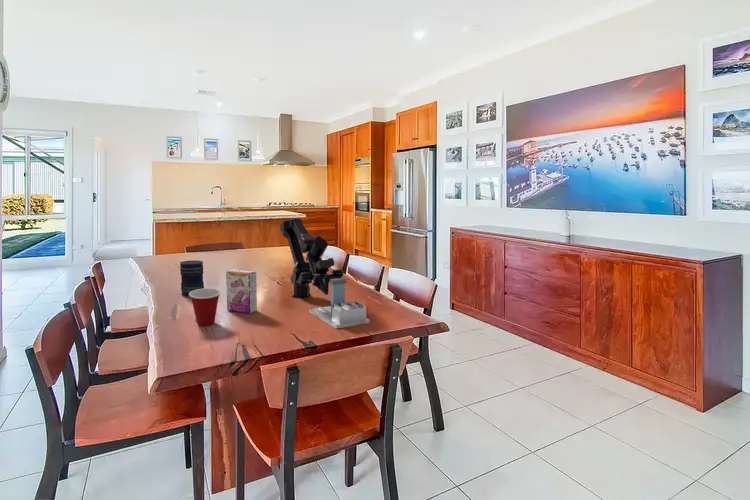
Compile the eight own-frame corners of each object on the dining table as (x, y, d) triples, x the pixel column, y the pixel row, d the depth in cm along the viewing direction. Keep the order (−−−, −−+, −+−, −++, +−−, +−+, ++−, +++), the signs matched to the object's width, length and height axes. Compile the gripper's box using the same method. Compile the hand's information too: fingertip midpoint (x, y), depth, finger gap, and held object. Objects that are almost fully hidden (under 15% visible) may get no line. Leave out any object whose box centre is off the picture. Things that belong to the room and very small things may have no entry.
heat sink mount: (309, 312, 176) (309, 294, 175) (340, 307, 183) (340, 290, 182) (335, 328, 156) (335, 308, 155) (369, 323, 163) (369, 303, 162)
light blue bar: (329, 313, 170) (329, 279, 168) (342, 311, 172) (342, 277, 171) (338, 318, 163) (338, 282, 161) (351, 316, 166) (352, 281, 164)
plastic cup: (191, 330, 152) (190, 296, 150) (188, 321, 161) (187, 289, 159) (224, 326, 157) (223, 293, 155) (219, 318, 166) (218, 287, 164)
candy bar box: (226, 311, 175) (225, 271, 173) (234, 307, 180) (233, 268, 178) (250, 314, 172) (249, 273, 169) (257, 310, 176) (256, 271, 174)
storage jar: (208, 293, 203) (207, 261, 201) (190, 297, 195) (188, 264, 193) (195, 290, 208) (194, 259, 206) (176, 294, 200) (175, 262, 198)
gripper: (300, 253, 174) (311, 285, 167) (341, 250, 184) (354, 281, 176) (293, 269, 182) (303, 300, 175) (333, 265, 192) (344, 295, 184)
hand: (327, 294), depth 177 cm, fingers closed
